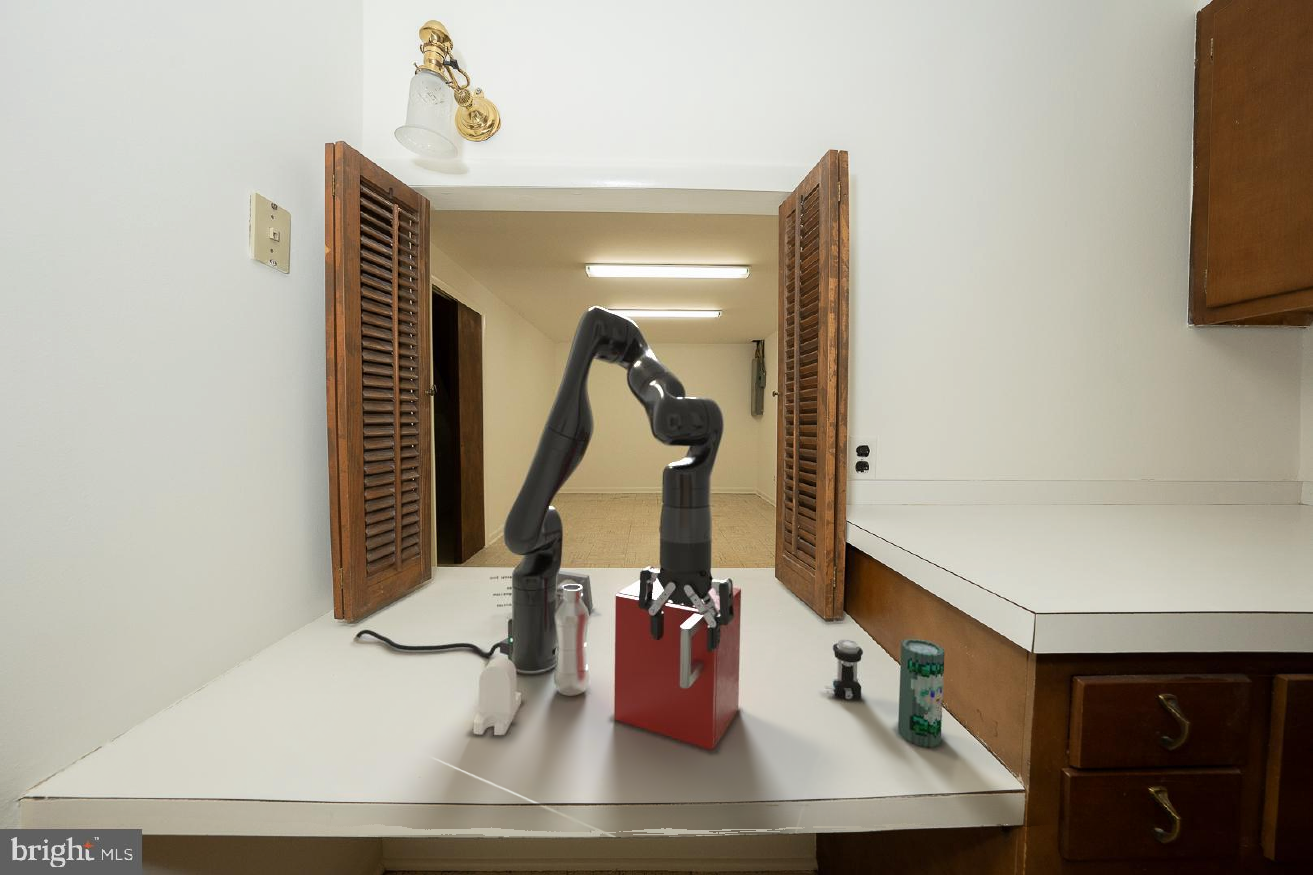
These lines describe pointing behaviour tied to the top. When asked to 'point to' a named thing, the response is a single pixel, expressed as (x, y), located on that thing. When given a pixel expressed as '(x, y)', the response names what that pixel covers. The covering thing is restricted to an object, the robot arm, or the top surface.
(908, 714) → the can
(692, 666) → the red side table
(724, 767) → the top surface
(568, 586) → the plastic bottle
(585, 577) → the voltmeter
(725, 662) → the red upright rectangular box
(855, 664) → the push button
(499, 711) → the cable organizer
